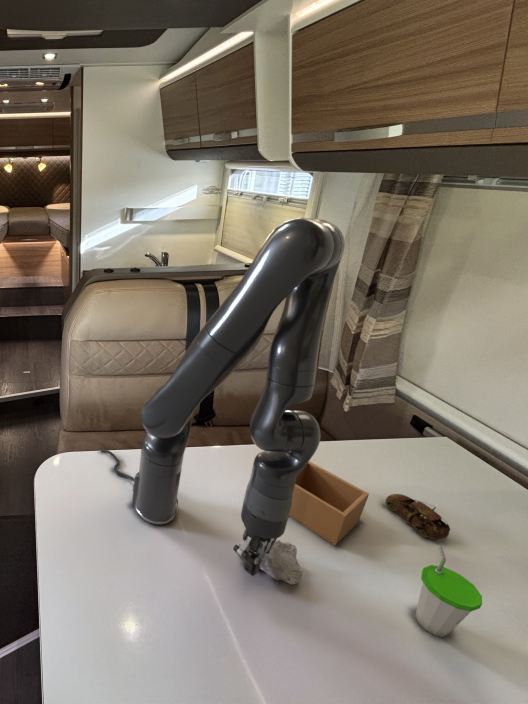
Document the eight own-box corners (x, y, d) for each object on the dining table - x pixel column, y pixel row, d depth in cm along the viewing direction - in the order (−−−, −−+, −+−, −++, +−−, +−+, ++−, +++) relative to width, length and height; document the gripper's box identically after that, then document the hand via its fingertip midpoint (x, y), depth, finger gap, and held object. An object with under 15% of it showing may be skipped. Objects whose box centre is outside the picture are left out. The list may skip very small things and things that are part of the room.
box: (334, 545, 93) (345, 516, 90) (273, 505, 104) (281, 477, 101) (358, 522, 99) (369, 493, 96) (298, 486, 110) (306, 459, 107)
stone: (304, 591, 84) (311, 570, 82) (251, 584, 85) (256, 564, 83) (288, 555, 91) (294, 535, 89) (240, 549, 93) (244, 529, 91)
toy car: (454, 539, 95) (462, 523, 93) (428, 544, 94) (436, 528, 92) (401, 498, 106) (408, 483, 104) (378, 502, 105) (384, 487, 103)
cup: (465, 656, 73) (501, 597, 67) (407, 631, 77) (436, 573, 71) (454, 616, 79) (486, 559, 74) (400, 595, 83) (427, 539, 77)
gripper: (267, 479, 86) (252, 543, 92) (226, 505, 79) (213, 572, 86) (306, 503, 80) (287, 570, 86) (265, 533, 73) (248, 603, 80)
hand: (250, 571), depth 86 cm, fingers closed
